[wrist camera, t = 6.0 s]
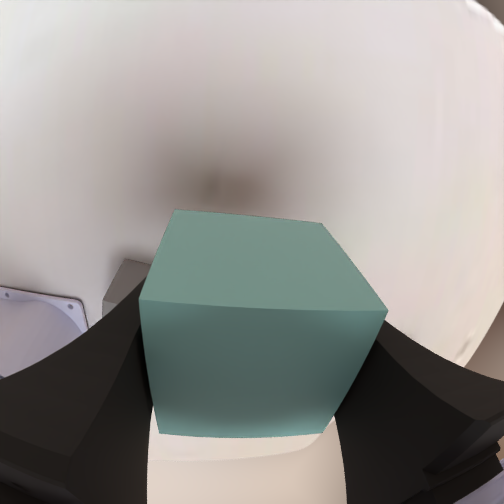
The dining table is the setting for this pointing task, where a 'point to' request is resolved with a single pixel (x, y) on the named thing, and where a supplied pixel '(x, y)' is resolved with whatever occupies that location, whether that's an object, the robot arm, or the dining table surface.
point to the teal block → (253, 326)
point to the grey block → (124, 283)
